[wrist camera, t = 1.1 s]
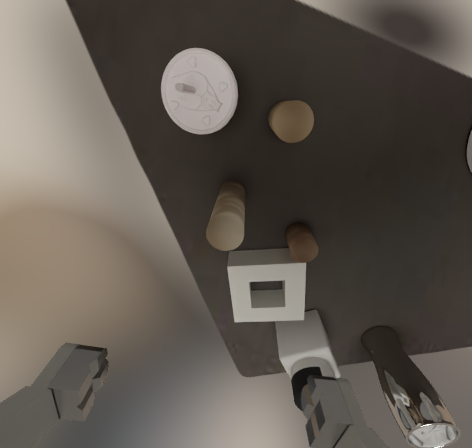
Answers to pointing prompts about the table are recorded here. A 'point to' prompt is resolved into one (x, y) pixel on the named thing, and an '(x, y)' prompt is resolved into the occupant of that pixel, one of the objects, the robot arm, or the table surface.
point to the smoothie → (199, 91)
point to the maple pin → (228, 217)
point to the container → (305, 351)
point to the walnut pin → (301, 242)
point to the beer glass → (409, 393)
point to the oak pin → (291, 120)
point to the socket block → (266, 301)
